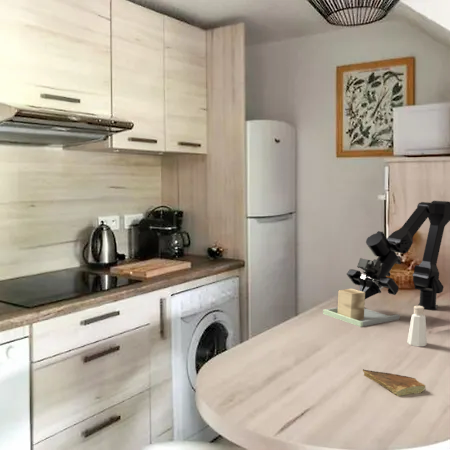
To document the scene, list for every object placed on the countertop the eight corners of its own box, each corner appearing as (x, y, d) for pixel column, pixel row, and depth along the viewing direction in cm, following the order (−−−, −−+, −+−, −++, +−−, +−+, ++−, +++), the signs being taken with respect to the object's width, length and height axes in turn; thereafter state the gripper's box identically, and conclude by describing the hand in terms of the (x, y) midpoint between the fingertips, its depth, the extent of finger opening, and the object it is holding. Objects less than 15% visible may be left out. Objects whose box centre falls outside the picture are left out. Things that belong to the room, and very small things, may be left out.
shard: (361, 376, 131) (362, 367, 130) (393, 372, 134) (394, 363, 133) (395, 398, 118) (395, 389, 118) (429, 393, 121) (430, 384, 121)
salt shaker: (428, 347, 151) (430, 309, 150) (408, 345, 153) (410, 308, 151) (425, 341, 157) (427, 304, 156) (405, 340, 158) (407, 303, 157)
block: (350, 314, 180) (351, 288, 179) (363, 319, 175) (365, 292, 174) (337, 317, 177) (338, 290, 176) (350, 321, 172) (351, 294, 171)
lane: (360, 310, 190) (361, 303, 190) (399, 322, 176) (399, 314, 176) (322, 317, 181) (323, 309, 180) (360, 330, 166) (360, 322, 166)
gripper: (351, 246, 186) (326, 280, 181) (394, 253, 170) (368, 291, 165) (366, 266, 191) (342, 300, 186) (409, 276, 175) (384, 313, 170)
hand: (358, 300), depth 177 cm, fingers closed, pressing on block
